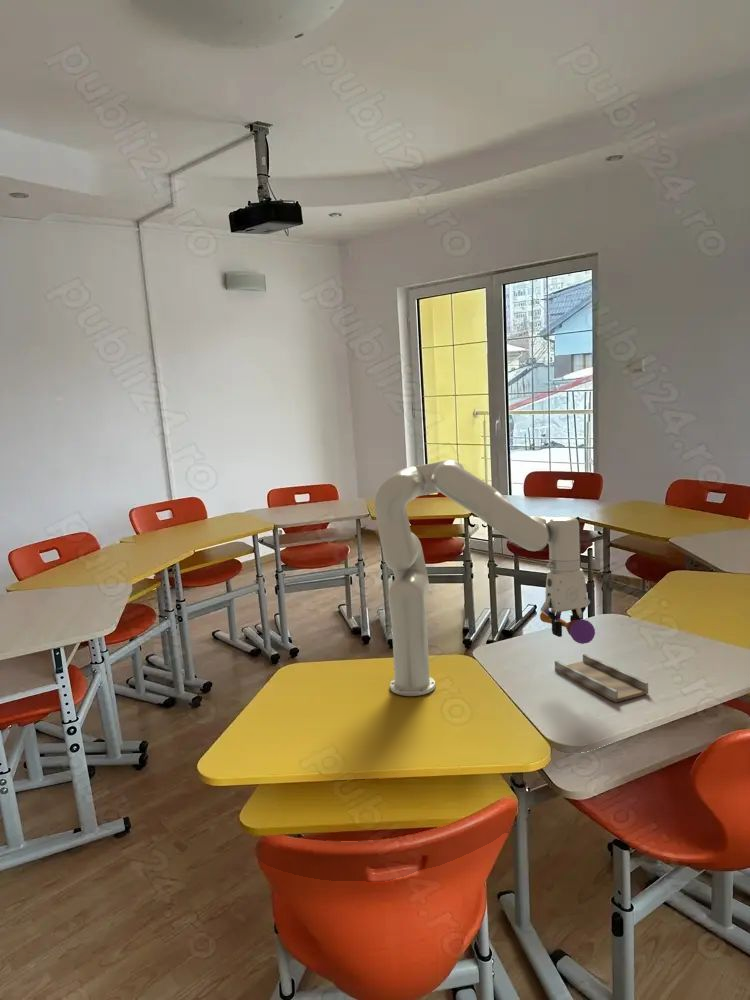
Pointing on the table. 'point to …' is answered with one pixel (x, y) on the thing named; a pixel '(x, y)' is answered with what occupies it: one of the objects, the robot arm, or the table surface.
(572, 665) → the rail cradle
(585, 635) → the kendama
